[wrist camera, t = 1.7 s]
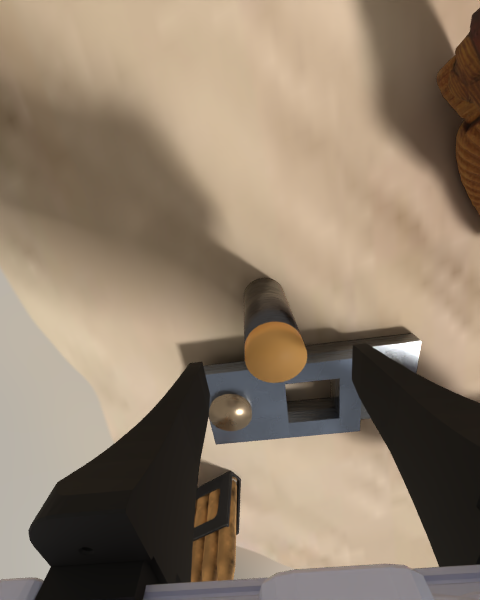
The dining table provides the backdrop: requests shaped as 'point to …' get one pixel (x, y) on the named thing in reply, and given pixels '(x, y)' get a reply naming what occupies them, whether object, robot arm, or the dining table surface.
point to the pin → (271, 333)
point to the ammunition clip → (216, 529)
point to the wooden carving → (466, 106)
